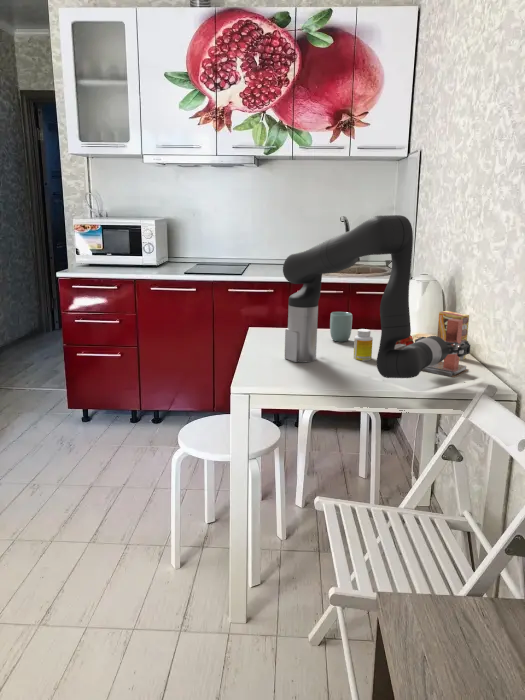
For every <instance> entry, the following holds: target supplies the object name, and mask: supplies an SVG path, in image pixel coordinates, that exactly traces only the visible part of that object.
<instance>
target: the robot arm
mask: <svg viewBox="0 0 525 700" xmlns="http://www.w3.org/2000/svg"><path fill="white" fill-rule="evenodd" d="M413 231H414V230H413V227H412V223H411V221H410V220H409V219H408V218H407V216H404V215H400V214H399V215H397V214H396V215H395V214H394V215H393V214H391V215H375V216H371V217H369V218H368V219H366V220H364V221H363V222H361V223H359V225H357V226H356V227H354V228H353V229H351V230H348V231H346V232H343V233H341V234H339V235H336V236H333V237H330V238H328V239H327V240H324V241H322V242H321V243H319V244H317V245H315V246H313V247H311V248H309V249H306V250H304V251H300V252H296V253H291V254H289V256H287V257H286V259H285V260H284V262H283V266H282V273H283V277H284V278H285V279H286V281H287V282H289V283H291V284H294V285H301V284H303V285H302V287H301V288H300V289H299V290H298V291H297V292H294V293H293V294H291V295H290V296H289V297H288V309H287V311H288V313H287V315H288V317H287V328H285V331H284V332H285V333H284V359H286V360H289V361H291V362H294V363H309V362H314V361H316V360H317V343H318V319H319V318H318V317H319V300H320V297H321V290H322V277H323V275H326V274H332V273H333V274H334V273H338V272H341V271H343V270H347V269H348V268H351V267H353V266H354V265H356V263H357V262H358V260H359V258H363V257H366V256H377V255H390V256H391V257H390V258H391V270H390V276H389V279H388V281H387V284H386V287H385V289H384V291H383V294H382V297H381V300H380V305H379V316H380V327H381V328H380V329H381V334H380V339H379V340H380V341H379V346H378V352H377V356H376V368H377V371H378V372H379V374H380V376H381V377H383V378H387V379H413V378H415V377H417V376H419V375H420V373H421V372H422V371H421V370H422V369H423V368H426V367H430V366H432V365H435V364H437V363H439V362H441V361H443V362H444V359H445V358H446V356H447V355H449V354H457V356H458V357H462V356H464V355H467V356H468V355H470V353H471V344H470V342H469V341H468V340H467V341H464V342H461V343H458V342H455V341H444V340H443V339H442V338H440V337H439V336H437V335H430V336H427V337H426V336H420V337H418V338H416V339H414V343H413V344H410V345H408V346H406V347H405V348H403V349H402V350H395V345H396V342H397V341H399V340H403V339H406V338H408V337H409V336H410V335H411V334H412V329H411V315H410V279H411V273H412V272H411V271H412V270H411V269H412V258H413V257H412V256H413V244H414V232H413ZM451 344H453V346H452V345H451ZM459 345H460V346H459Z"/></svg>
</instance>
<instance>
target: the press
mask: <svg viewBox="0 0 525 700" xmlns="http://www.w3.org/2000/svg"><path fill="white" fill-rule="evenodd" d="M405 347H406V345H404V344H397V345H395V350H402V349H403V348H405ZM441 362H444V360H443V361H441ZM460 365H461V366H465V365H463V364H460ZM421 372H426V373H431V374H435V375H441V376H444V377H449V378H457V377H458V376H460V375H462V374H464V373H466V372H469V369H468V368H466V370H464V371H462V372H460V373H458V374H456V375H452V374H453V373H451V372H446V371H441V370H436V369H431V368H423V369H422V370H421Z"/></svg>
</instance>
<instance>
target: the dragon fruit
mask: <svg viewBox="0 0 525 700" xmlns="http://www.w3.org/2000/svg"><path fill="white" fill-rule="evenodd" d="M413 339H414V337H413V336H412V335H411V334H410V336H409V337H408V338H406V339H403V340H399V341H397V342H396V345H397V344H404V345H406V346H408V345H410V344H413V343H415V341H414V340H413Z"/></svg>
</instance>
